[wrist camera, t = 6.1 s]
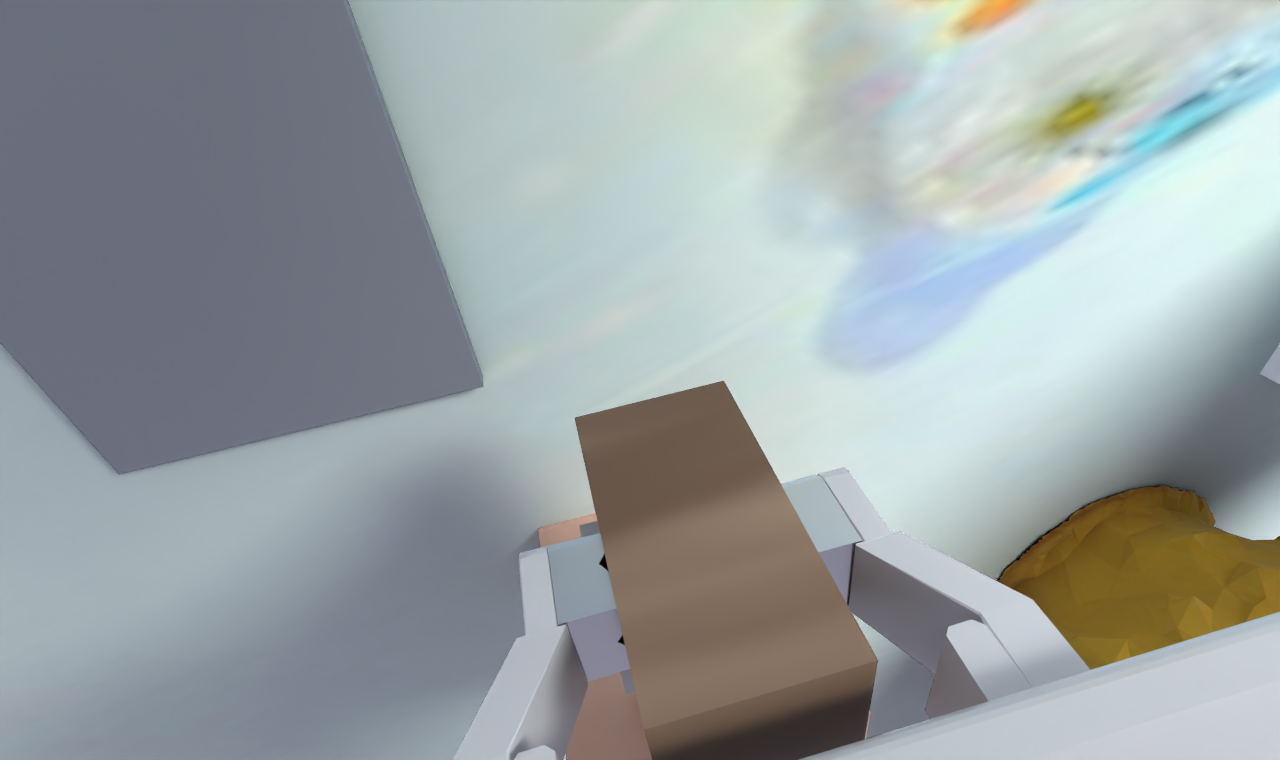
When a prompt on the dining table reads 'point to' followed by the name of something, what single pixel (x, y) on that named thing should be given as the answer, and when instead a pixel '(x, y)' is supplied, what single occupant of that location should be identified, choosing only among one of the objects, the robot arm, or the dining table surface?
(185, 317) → the pad
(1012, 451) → the dining table surface
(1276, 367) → the milk
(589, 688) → the tile
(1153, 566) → the pitcher
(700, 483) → the brown block
